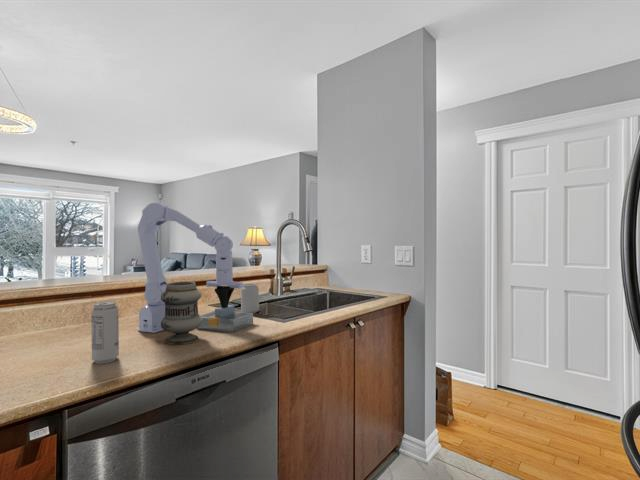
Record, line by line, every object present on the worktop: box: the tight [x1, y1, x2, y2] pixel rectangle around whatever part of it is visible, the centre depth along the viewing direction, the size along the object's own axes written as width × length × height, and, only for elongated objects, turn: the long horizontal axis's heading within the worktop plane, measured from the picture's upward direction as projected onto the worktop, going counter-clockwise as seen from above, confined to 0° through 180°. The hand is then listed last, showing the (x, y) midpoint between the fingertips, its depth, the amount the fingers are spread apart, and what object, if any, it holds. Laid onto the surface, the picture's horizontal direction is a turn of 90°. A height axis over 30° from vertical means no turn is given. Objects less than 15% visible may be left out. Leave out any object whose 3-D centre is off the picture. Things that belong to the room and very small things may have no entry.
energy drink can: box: [90, 301, 120, 365], centre depth 91 cm, size 6×6×15 cm
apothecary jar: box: [161, 280, 202, 346], centre depth 108 cm, size 12×12×18 cm
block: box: [214, 304, 236, 318], centre depth 125 cm, size 8×3×6 cm, turn 159°
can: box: [240, 283, 260, 314], centre depth 148 cm, size 8×8×12 cm
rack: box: [197, 310, 254, 333], centre depth 125 cm, size 13×16×4 cm
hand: (224, 307), depth 125 cm, fingers closed, pressing on block
